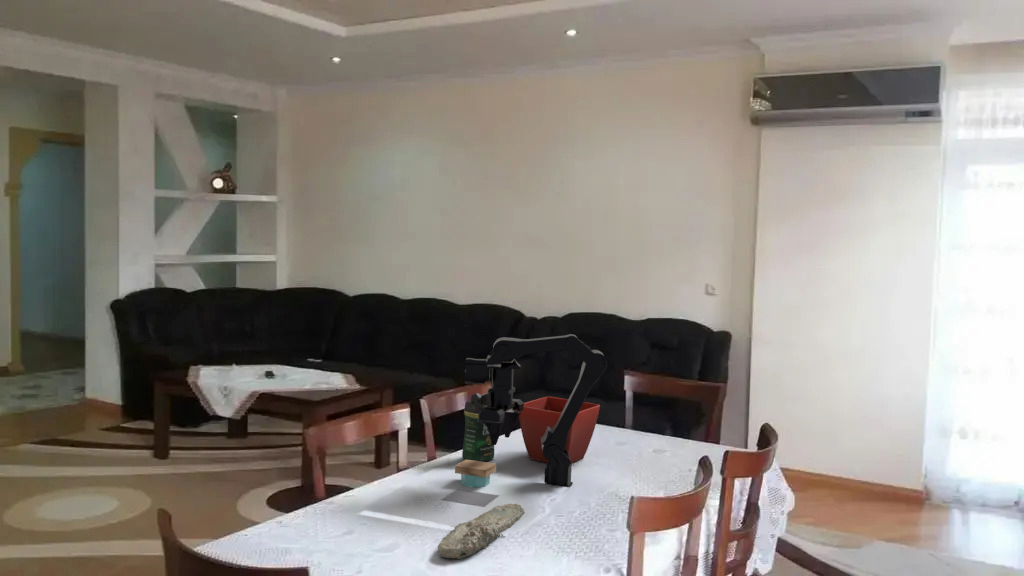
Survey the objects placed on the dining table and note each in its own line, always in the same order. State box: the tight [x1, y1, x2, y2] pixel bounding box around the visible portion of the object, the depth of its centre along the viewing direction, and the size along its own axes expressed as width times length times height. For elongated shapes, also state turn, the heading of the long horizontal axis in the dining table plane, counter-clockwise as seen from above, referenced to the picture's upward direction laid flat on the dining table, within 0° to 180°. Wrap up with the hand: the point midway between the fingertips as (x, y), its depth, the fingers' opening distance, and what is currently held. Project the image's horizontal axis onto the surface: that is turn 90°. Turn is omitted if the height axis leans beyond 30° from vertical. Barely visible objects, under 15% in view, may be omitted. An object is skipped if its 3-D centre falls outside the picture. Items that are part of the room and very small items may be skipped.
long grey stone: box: [437, 503, 525, 560], centre depth 194 cm, size 35×5×10 cm
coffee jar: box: [461, 399, 495, 462], centre depth 257 cm, size 10×8×19 cm
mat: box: [440, 488, 500, 508], centre depth 218 cm, size 12×10×1 cm
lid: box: [454, 459, 497, 478], centre depth 230 cm, size 9×7×2 cm
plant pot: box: [518, 396, 601, 464], centre depth 260 cm, size 19×19×17 cm
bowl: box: [460, 474, 491, 488], centre depth 230 cm, size 7×7×4 cm
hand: (500, 440), depth 233 cm, fingers open, 9 cm apart
